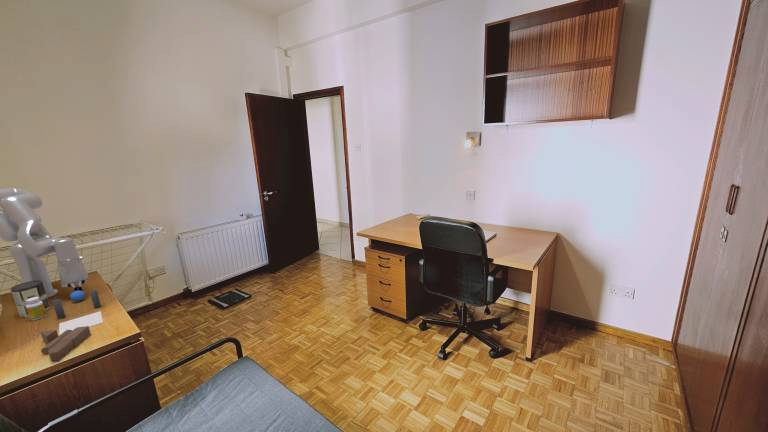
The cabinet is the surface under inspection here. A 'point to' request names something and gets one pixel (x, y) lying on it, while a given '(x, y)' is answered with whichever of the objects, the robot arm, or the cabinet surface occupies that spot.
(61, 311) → the post
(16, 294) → the coffee can
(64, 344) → the wooden block set
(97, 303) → the post
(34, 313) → the supplement bottle
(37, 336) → the cabinet surface
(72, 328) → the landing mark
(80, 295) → the ball
